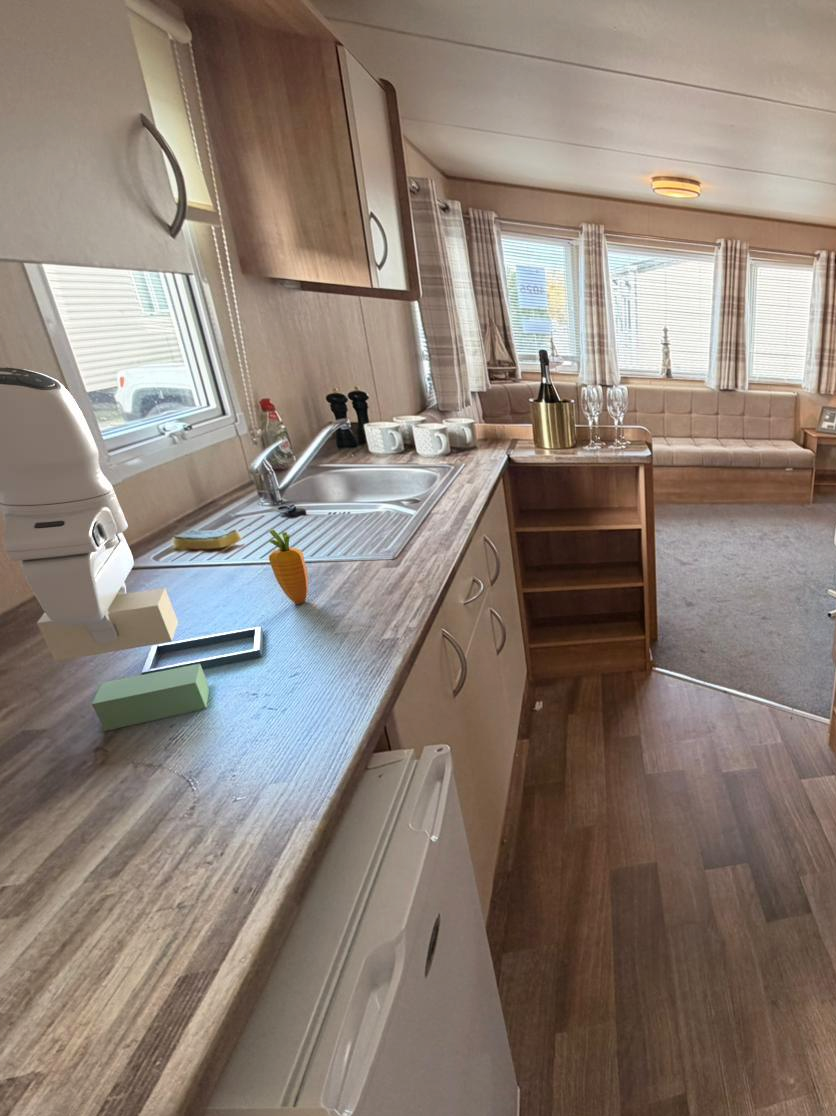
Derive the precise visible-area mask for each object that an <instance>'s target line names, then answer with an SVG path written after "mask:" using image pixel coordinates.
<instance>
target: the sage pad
mask: <svg viewBox="0 0 836 1116" xmlns="http://www.w3.org/2000/svg"><path fill="white" fill-rule="evenodd" d="M204 672H205V671H204V669H202V667H201V665H200V664H196V665H190V666H185V667H180V668H175V669H170V670H165V671H160V672H155V673H150V674H144V675H142V674H140V675H135V676H130V677H125V678H124V677H123V678H118V679H114V680H109V681H104V682H101V683H100V685H99V688H98V690H97V693H96V694H95V696H94V699H93V701H92V703H91V706H92V707H93V709H94V712H95V714H96V716H97V717H98V720H99V722H100V724H101V726H102V727H103V730H104V732H108V731H111V730H116V729H120V728H125V727H129V726H134V725H138V724H143V723H148V722H151V721H155V720H161V719H165V718H170V717H174V716H178V715H183V714H187V713H192V712H196V711H199V710H200V711H201V710H205V709H207V706H208V701H209V695H210V690H211V689H210V688H211V687H210V685H209V682H208V680H207V678H206V677H207V676H206V675H205V673H204Z"/></svg>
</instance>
